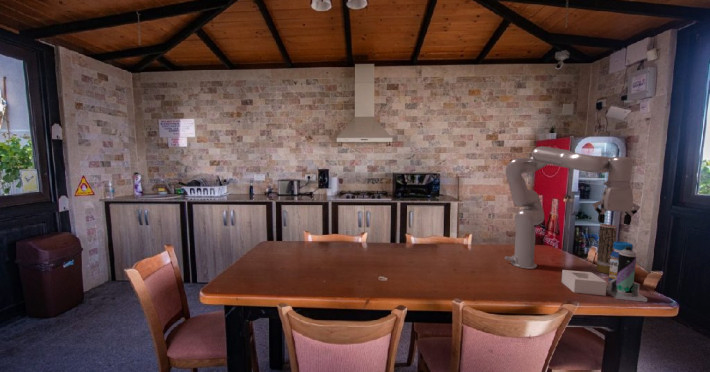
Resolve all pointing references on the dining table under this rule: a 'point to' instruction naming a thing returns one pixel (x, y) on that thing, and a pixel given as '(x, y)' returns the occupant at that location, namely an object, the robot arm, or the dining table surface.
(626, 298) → the v-block
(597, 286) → the bore block
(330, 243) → the dining table surface
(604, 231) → the wooden log
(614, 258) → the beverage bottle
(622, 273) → the spray can
